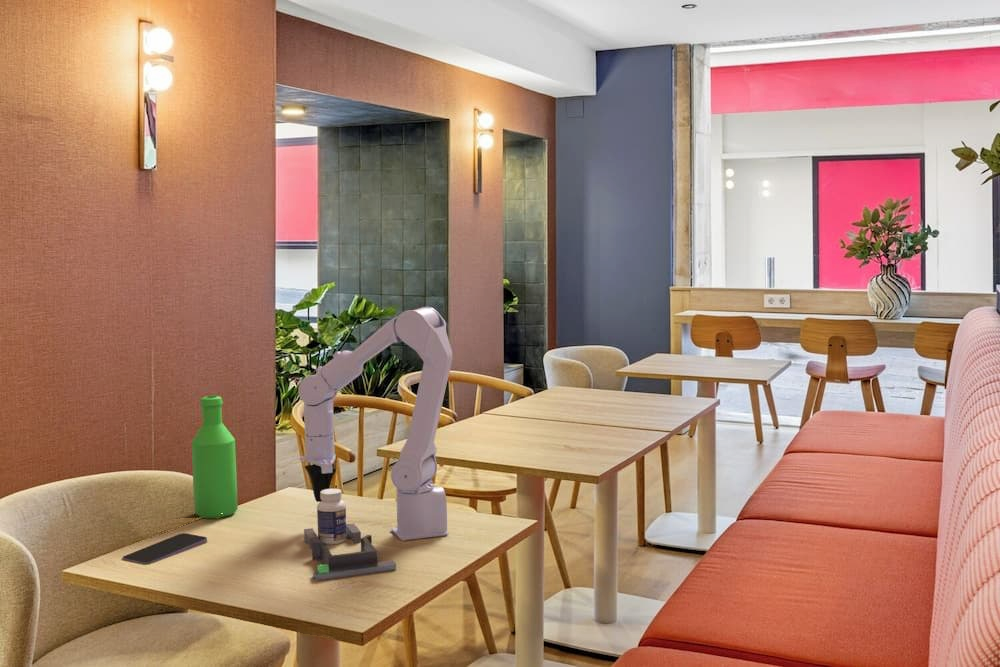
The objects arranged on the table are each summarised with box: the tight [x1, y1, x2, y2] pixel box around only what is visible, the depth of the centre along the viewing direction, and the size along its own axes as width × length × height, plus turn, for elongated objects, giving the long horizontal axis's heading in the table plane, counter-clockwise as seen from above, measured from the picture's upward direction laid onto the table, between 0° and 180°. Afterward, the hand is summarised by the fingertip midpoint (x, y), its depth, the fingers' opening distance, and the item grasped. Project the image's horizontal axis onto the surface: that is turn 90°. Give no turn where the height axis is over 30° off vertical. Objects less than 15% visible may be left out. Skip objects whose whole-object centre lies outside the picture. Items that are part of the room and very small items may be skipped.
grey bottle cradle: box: [311, 534, 397, 582], centre depth 174 cm, size 14×12×3 cm
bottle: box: [191, 395, 239, 520], centre depth 205 cm, size 9×9×25 cm
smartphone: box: [122, 532, 208, 565], centre depth 183 cm, size 7×1×15 cm
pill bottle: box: [316, 488, 347, 545], centre depth 187 cm, size 5×5×10 cm
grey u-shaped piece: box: [303, 523, 362, 549], centre depth 187 cm, size 10×6×2 cm, turn 111°
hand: (321, 500), depth 196 cm, fingers closed
